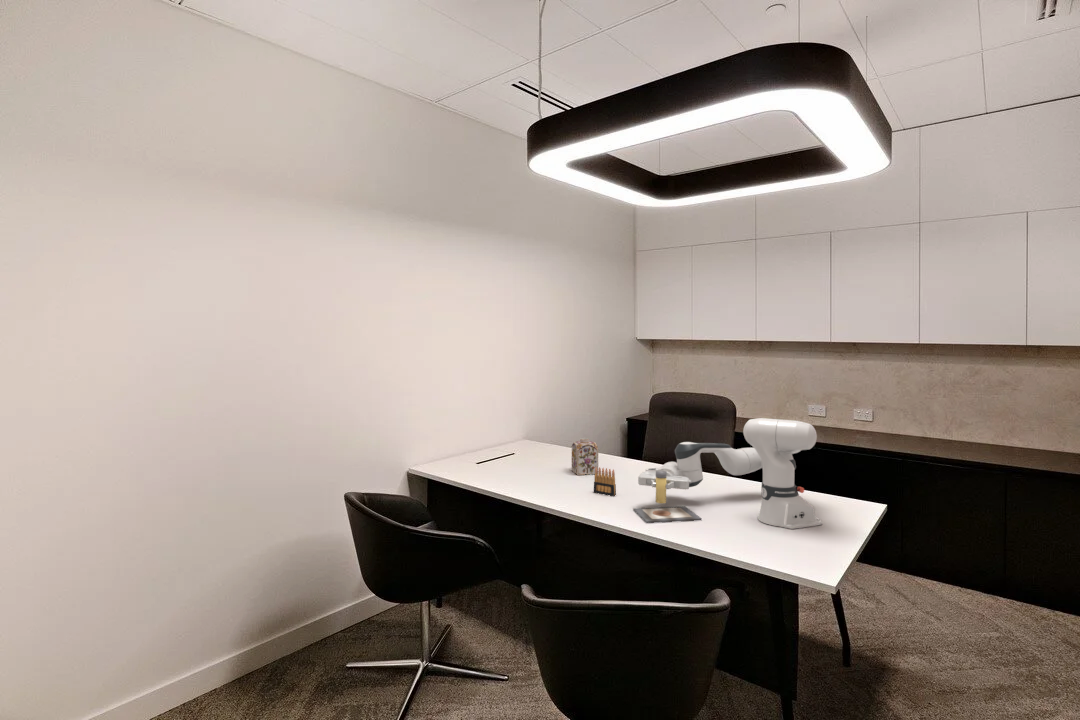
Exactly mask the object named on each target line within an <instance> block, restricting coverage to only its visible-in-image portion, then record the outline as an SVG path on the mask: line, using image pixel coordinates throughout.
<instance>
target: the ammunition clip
mask: <svg viewBox="0 0 1080 720" xmlns="http://www.w3.org/2000/svg"><path fill="white" fill-rule="evenodd" d="M616 485H617V484H616V474H615V469H614V468H613V469H612V471H611V468H608V467H605V468H604V467H602V468H601V466H598V470H597V467H596V468H595V475H594V481H593V494H598V493H599V495H603V494H605V495H604V496H608V495H610V496H609V497H616V496H617V486H616ZM615 495H616V496H615Z"/></svg>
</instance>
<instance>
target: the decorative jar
mask: <svg viewBox="0 0 1080 720" xmlns="http://www.w3.org/2000/svg"><path fill="white" fill-rule="evenodd" d="M596 467H597V470H598V471H599V447H598V445H597V443H596V442H595V441H592V440H590V438H587V437H581V438H579V440H578V441H577V440H576V441H573V443H572V445H571V471H572V472H573V473H576V474H577V475H576V474H575V475H576V476H586V475H585V474H595V468H596Z"/></svg>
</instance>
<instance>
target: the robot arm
mask: <svg viewBox="0 0 1080 720" xmlns="http://www.w3.org/2000/svg"><path fill="white" fill-rule="evenodd" d="M742 434H743V436H744V439H745V441H746V442H747V444H749V445H750V446H752V447H741V448H737V449H736V448H733V447H732V446H731V445H730V444H727V443H721V442H720V443H719V442H718V443H717V442H714V443H713V442H692V441H683V442H680V443H678V444H677V445H676V447H675V449H674V454H675V458H676V461H668V462H665V463H664V464H663V465H662V466H661V467H655V468H646V469H645V471H642V472H641V473H639V475H638V477H637V478H638V480H637V481H638V482H637V483H638V485H639V486H645V487H652V488H656V471H666V472H667V477H666V490H671V489H677V490H685V491H686V490H689V488H693V487H696V486H698V485H700V483H701V482H702V481H703V480H704V475H703V468H702V462H701V453H713V454H715V456H716V457H717V459H718V461H719V463H720V465H721V466H722V469H724V471H726V472H727V473H728V474H730V475H732V476H742V475H746V474H750V473H755V472H756V471H758V470H761V469H762V482H761V491H760V492H761V502H760V503H761V505H760V509H759V513H758V517H757V519H758V521H759V522H761V523H764V524H766V525H770V526H775V527H781V528H785V529H789V530H795V529H801V528H802V529H803V528H808V527H815V526H822V525H823V522H822V519H820V518H819V517H817V516H816V513H815V508H814V506H813V505H812V504H811V503H809V502H808V501H807V500H806V499H804V498H803V496H801V495H800V494H799V493H801V494H803V493H805V488H804V487H802V486H797V485H796V484H795V470H796V469H797V465H796V460H795V459H794V456H793V455H794V454H798V453H800V452H801V451H807V450H811V449H812V448H813V447H815V445H816V443H817V439H818V434H817V431H816V429H815V426H814V425H812V424H811V423H807V422H805V421H800V420H793V419H792V420H791V419H780V418H779V419H778V418H765V417H758V418H752V419H748V421H747V422H745V424H744V426H743V432H742Z"/></svg>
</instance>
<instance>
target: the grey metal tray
mask: <svg viewBox="0 0 1080 720" xmlns="http://www.w3.org/2000/svg"><path fill="white" fill-rule="evenodd" d="M632 509H633V512H634V513H635V514H636V515H637V516H638V517H639V518H640V519H642V521H643V522H644V523H645V524H655V523H654V522H662V523H673V522H672V521H681V522H695V521H694V520H701V521H702V518H701V517H700V516H699V515H697V513H695V512H694V511H692V510H691V509H690V508H688V507H687V506H686V505H679V506H677V505H675V506H659V507H658V506H657V507H655V506H654V507H637V508H635V507H634V508H632Z"/></svg>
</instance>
